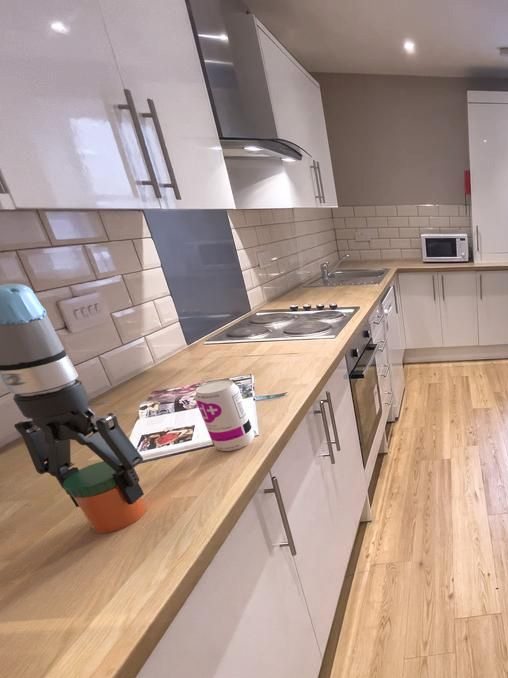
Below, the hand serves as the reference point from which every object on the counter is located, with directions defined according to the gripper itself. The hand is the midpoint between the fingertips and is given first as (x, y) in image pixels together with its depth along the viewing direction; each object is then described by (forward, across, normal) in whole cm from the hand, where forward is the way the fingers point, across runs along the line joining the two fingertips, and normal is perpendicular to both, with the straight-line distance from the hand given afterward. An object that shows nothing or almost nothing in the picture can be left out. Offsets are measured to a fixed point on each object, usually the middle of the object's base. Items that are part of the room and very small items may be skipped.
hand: (110, 500), depth 73 cm
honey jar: (+4, 0, 0) cm, 4 cm away
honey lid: (-6, 0, 0) cm, 6 cm away
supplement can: (+4, +8, +24) cm, 26 cm away
